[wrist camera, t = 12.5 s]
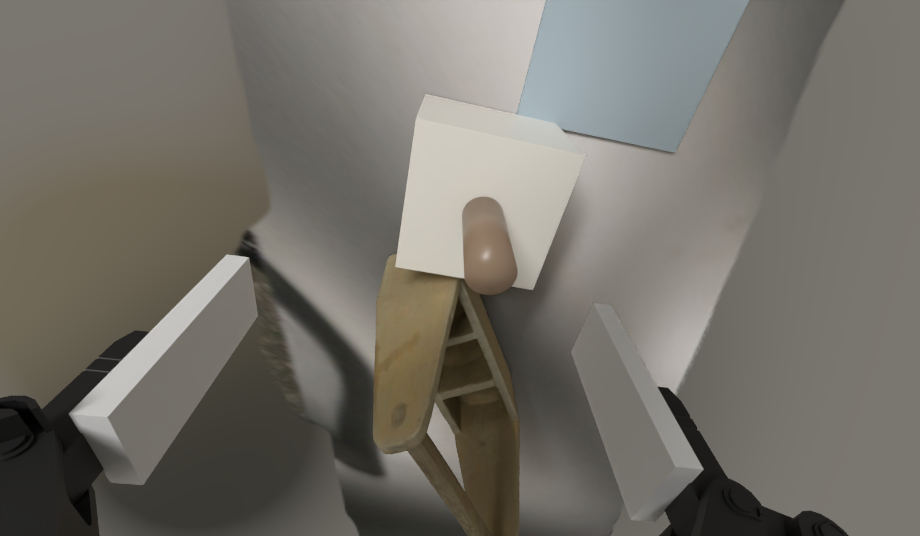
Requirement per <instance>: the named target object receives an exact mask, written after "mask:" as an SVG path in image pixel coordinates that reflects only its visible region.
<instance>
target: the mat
mask: <svg viewBox="0 0 920 536" xmlns="http://www.w3.org/2000/svg"><path fill="white" fill-rule="evenodd" d="M748 2H749V0H546V3H545V7H544V11H543V14H542V18H541V22H540V26H539V30H538V34H537V38H536V41H535V45H534V49H533V53H532V57H531V61H530V65H529V68H528V72H527V76H526V80H525V84H524V88H523V92H522V95H521V99H520V103H519V107H518V111H517V115H521V116H525V117H530V118H534V119H539V120H543V121H548V122H552V123H556V124H557V125H558V126H559V127H560V128H561V129H564V130H568V131H573V132H578V133H583V134H587V135H592V136H597V137H602V138H606V139H611V140H616V141H621V142H626V143H630V144H635V145H640V146H645V147H649V148H654V149H659V150H664V151H668V152H673V153H675V151H676V149H677V147H678V145H679V143H680V141H681V139H682V137H683V135H684V133H685V131H686V129H687V127H688V125H689V123H690V121H691V119H692V117H693V115H694V113H695V111H696V109H697V106H698V104H699V102H700V100H701V98H702V96H703V94H704V92H705V90H706V88H707V86H708V84H709V82H710V80H711V78H712V76H713V74H714V72H715V70H716V68H717V66H718V64H719V62H720V59H721V57H722V55H723V53H724V51H725V49H726V47H727V45H728V43H729V41H730V39H731V37H732V35H733V33H734V31H735V29H736V27H737V25H738V23H739V21H740V19H741V17H742V15H743V12H744V10H745V8H746V6H747V4H748Z"/></svg>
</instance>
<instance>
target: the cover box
mask: <svg viewBox="0 0 920 536" xmlns="http://www.w3.org/2000/svg"><path fill="white" fill-rule="evenodd" d="M585 157H586V154H585V153H584V152H583V151H582V150H581V149H580V148H579V147H578V146H577V145H576V144H575V143H574V142H573V141H572V140H571V139H570V138H569V137H568V136H567V135H566V134H565V133H564V132H563V131H562V130H561V128H560V127H559V126H558V125H557V124H556V123H552V122H548V121H543V120H539V119H534V118H530V117H525V116H521V115H517V114H512V113H508V112H503V111H499V110H495V109H490V108H486V107H481V106H477V105H472V104H468V103H464V102H459V101H455V100H450V99H446V98H441V97H437V96H433V95H428V94H425V97H424V99H423V102H422V104H421V107H420V110H419V112H418V115H417V117H416V123H415V130H414V137H413V144H412V151H411V158H410V166H409V173H408V180H407V187H406V194H405V201H404V208H403V215H402V222H401V229H400V236H399V244H398V251H397V258H396V265H395V267H398V268H404V269H410V270H416V271H422V272H428V273H434V274H440V275H446V276H452V277H458V278H464V279H465V281H466V283H467V285H468V286H469V287H470V288H471V289H472V290H473V291H475V292H477V293H480V294H483V295H496V294H500V293H502V292H504V291H506V290H508V289H509V288H510V287H517V288H523V289H529V290H533V289H534V286H535V284H536V281H537V279H538V276H539V274H540V271H541V269H542V266H543V264H544V261H545V259H546V256H547V254H548V251H549V248H550V246H551V243H552V241H553V238H554V236H555V233H556V231H557V228H558V226H559V223H560V221H561V218H562V216H563V213H564V210H565V208H566V205H567V203H568V200H569V198H570V195H571V193H572V190H573V188H574V185H575V183H576V180H577V178H578V175H579V172H580V170H581V167H582V165H583V162H584V160H585Z"/></svg>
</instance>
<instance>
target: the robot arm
mask: <svg viewBox="0 0 920 536" xmlns="http://www.w3.org/2000/svg"><path fill="white" fill-rule="evenodd" d="M257 316H258V313H257V307H256V300H255V294H254V287H253V281H252V274H251V268H250V261H249V258H248V257H241V256H233V255H226V256H225V257H224V258H223V259H222V260H221V261H220V262H219V263H218V264H217V265H216V266H215V267H214V268H213V269H212V270H211V271H210V272H209V273H208V274H207V275H206V276H205V277H204V278H203V279H202V280H201V281H200V282H199V283H198V284H197V285H196V286H195V287H194V288H193V289H192V290H191V292H189V293H188V294H187V295H186V296H185V297H184V298H183V299H182V300H181V301H180V302H179V303H178V304H177V305H176V306H175V307H174V308H173V309H172V310H171V311H170V312H169V313H168V314H167V315H166V316H165V317H164V318H163V319H162V320H161V321H160V322H159V323H158V325H156V326H155V327H154V328H153V329H152V330H151V331H150V332H145V331H134V332H132V333H130V334H128V335H126V336H124V337H123V338H121V339H119V340H117V341H116V342H114V343H113V344H112V345H111V346H110V347H109V348H108V349H106V350H105V351H104V352H103V353H102V354H101V355H100V356H99V359H96V360H95V361H94V362H92V364H90V366H88V367H87V368H86V371H84V372H82V373H81V374H80V375H78V376H77V377H76V378H75V379H74V380H73V381H72V382H71V383H70V384H69V385H68V386H67V387H66V388H65V389H63V390H62V391H61V392H60V393H59V394H58V395H57V396H56V397H55V398H54V399H53V400H52V401H51V402H49V403H48V404H47V405H46V406H45V407H44V408H43V409H41V408H40V406H39V405H38V403H37V402H36V401H35V400H34V399H32V398H30V397H27V396H8V397H3V398H0V536H99V527H98V517H97V508H96V498H95V491H94V489H93V487H92V485H91V484H92V483H93V482H94V480H95V479H96V478H97V477H98V475H99V474H100V473H101V472H102V470H103V471H104V473H105V474H106V476H107V478H108V479H109V481H110V482H111V483H124V484H137V485H143V484H144V483H145V481H146V480H147V478H148V477H149V475H150V474H151V472H152V471H153V470H154V468H155V467H156V465H157V464H158V462H159V461H160V459H161V458H162V456H163V455H164V453H165V452H166V450H167V449H168V447H169V446H170V444H171V443H172V441H173V440H174V439H175V437H176V435H177V434H178V433H179V431H180V430H181V428H182V427H183V425H184V424H185V422H186V421H187V419H188V418H189V416H190V415H191V414H192V412H193V410H194V409H195V408H196V406H197V405H198V403H199V402H200V400H201V399H202V397H203V396H204V394H205V393H206V391H207V390H208V388H209V387H210V385H211V384H212V382H213V381H214V380H215V378H216V377H217V375H218V374H219V372H220V371H221V369H222V367H223V366H224V365H225V363H226V362H227V360H228V359H229V357H230V356H231V354H232V353H233V352H234V350H235V349H236V347H237V346H238V344H239V343H240V341H241V340H242V338H243V337H244V335H245V334H246V332H247V331H248V329H249V328H250V327H251V325H252V324H253V322H254V321H255V319H256V318H257ZM571 354H572V357H573V360H574V362H575V365H576V368H577V371H578V374H579V376H580V379H581V382H582V385H583V388H584V391H585V393H586V396H587V399H588V402H589V405H590V407H591V410H592V413H593V416H594V419H595V421H596V424H597V427H598V430H599V433H600V435H601V438H602V441H603V444H604V447H605V450H606V452H607V455H608V458H609V461H610V464H611V466H612V469H613V472H614V475H615V478H616V480H617V483H618V486H619V489H620V492H621V494H622V497H623V500H624V503H625V506H626V508H627V511H628V514H629V517H630V520H640V521H654V522H655V521H656V520H657V519H658V518H659V517H660V516H661V515H662V514H663V513H664V512H666V514H667V516H668V519H669V521H670V523H671V524H670V525H669V526H668V527H667V528H666V529H665V530H664V532H662V534H660V535H659V536H848V535H847V533H846V532H845V531H844V530H842V529H841V528H840V527H839V526H838V525H837V524H835V523H834V522H833V521H831V520H830V519H828V518H826V517H825V516H823V515H821V514H818V513H816V512H813V511H802V512H801V513H800V514H798V515H797V516H796V517H794V518H791V517H788V516H786V515H783V514H781V513H778V512H776V511H773V510H771V509H768V508H766V507H763V506H761V504H760V502H759V501H758V500H757V499H756V498H755V496H754V495H753V494H752V493H751V492H750V491H749V490H747V489H746V488H745V487H743V486H742V485H741V484H739V483H737V482H735V481H733V480H731V479H728V477H727V476H726V475H725V473H724V471H723V470H722V468H721V467H720V465H719V463H718V461H717V460H716V458H715V456H714V455H713V453H712V451H711V450H710V448H709V447H708V445H707V443H706V442H705V440H704V438H703V437H702V435H701V433H700V432H699V431H697V427H696V425H695V424H694V422H693V420H692V419H690V415H689V413H688V412H687V410H686V408H685V407H684V405H683V404H682V402H681V401H680V400H679V399H678V398H677V397H676V396H675V395H674V394H673V393H672V392H671V391H670V390H669V389H668V388H664V387H657V385H656V384H655V382H654V380H653V378H652V376H651V375H650V373H649V371H648V369H647V368H646V366H645V364H644V362H643V360H642V359H641V357H640V355H639V353H638V351H637V350H636V348H635V346H634V344H633V343H632V341H631V339H630V337H629V335H628V334H627V332H626V330H625V328H624V327H623V325H622V323H621V321H620V319H619V318H618V316H617V314H616V312H615V310H614V309H613V307H612V305H607V304H599V303H593V304H592V307H591V309H590V311H589V313H588V315H587V318H586V320H585V322H584V324H583V326H582V329H581V331H580V333H579V335H578V338H577V340H576V342H575V344H574V346H573V349H572V351H571Z"/></svg>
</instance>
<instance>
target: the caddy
mask: <svg viewBox="0 0 920 536" xmlns="http://www.w3.org/2000/svg"><path fill="white" fill-rule="evenodd" d="M396 258H397V253H396V254H393V255H391V256H389V257H388V260H387V264H386V267H385V271H384V274H383V278H382V282H381V286H380V290H379V293H378V296H377V302H376V345H375V369H374V406H373V439H374V442H375V443H376V445H377V446H378V447H379V449H380V450H381V451H382V452H383V453H385V454H394V453H399V452H403V451H408V452H409V454H410V455H411V456H412V458H413V459H414V460H415V462H416V463H417V465H418V466H419V467H420V469H421V470H422V471H423V473H424V474H425V476H426V477H427V478H428V480H429V481H430V483H431V484H432V485H433V487H434V488H435V490H436V491H437V492H438V494H439V495H440V497H441V498H442V499H443V501H444V502H445V504H446V505H447V506H448V508H449V509H450V510H451V512H452V513H453V515H454V516H455V517H456V519H457V520H458V522H459V523H460V525H461V526H462V528H463V529H464V531H465V532H466V534H467V535H468V536H519V448H520V426H519V423H520V421H519V416H518V411H517V406H516V401H515V396H514V391H513V385H512V380H511V374H510V371H509V368H508V366H507V363H506V361H505V358H504V356H503V353H502V351H501V348H500V345H499V343H498V340H497V338H496V335H495V333H494V330H493V328H492V325H491V323H490V320H489V318H488V315H487V312H486V309H485V307H484V304H483V302H482V299H481V296H480V294H479V293H477V292H475V291H473V290H472V289H471V288H470V287H469V286H468V285H467V283H466V281H465V279H464V278H458V277H452V276H446V275H440V274H434V273H428V272H422V271H416V270H410V269H404V268H398V267H395V265H396ZM434 402H435V403H436V404H437V406H438V408H439V410H440V411H441V413H442V415H443V416H444V418H445V419H446V421H447V422H448V424H449V425H450V427H451V429H452V431H453V433H454V434H455V440H456V447H457V452H458V457H459V462H460V468H461V473H462V478H463V483H464V488H465V491H464V490H463V488H462V487H461V485H460V483H459V482H458V480H457V478H456V477H455V475H454V474H453V472H452V470H451V469H450V467H449V466H448V464H447V463H446V461H445V460H444V458H443V457H442V455H441V454H440V452H439V450H438V449H437V447H436V446H435V444H434V443H433V441H432V440H431V438H430V437H429V435H428V434H427V429H428V426H429V422H430V419H431V415H432V411H433V406H434Z"/></svg>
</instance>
